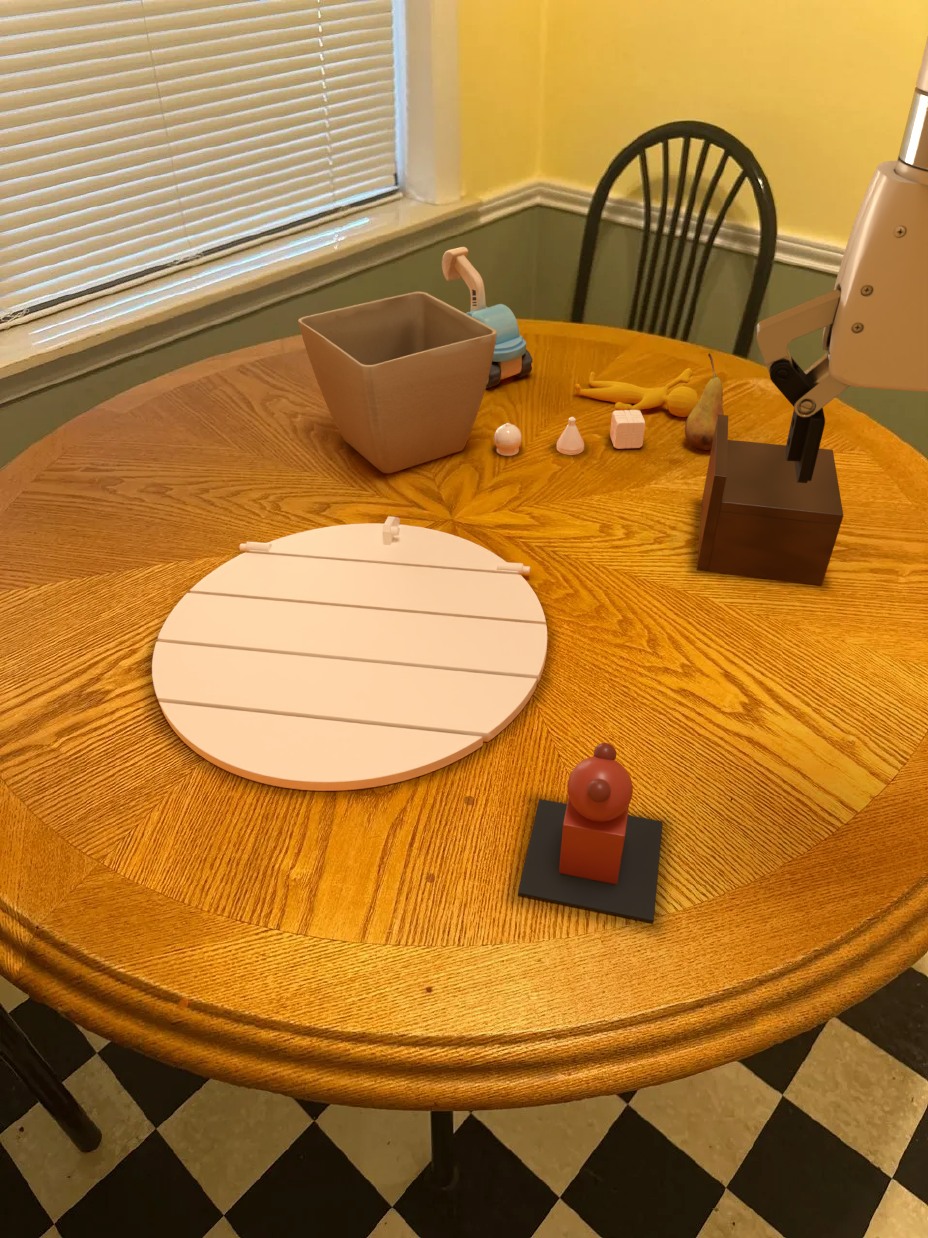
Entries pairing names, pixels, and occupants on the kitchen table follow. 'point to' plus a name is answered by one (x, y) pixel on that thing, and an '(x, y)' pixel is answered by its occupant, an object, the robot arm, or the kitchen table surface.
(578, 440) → the decorative object set
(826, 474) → the wooden box with backboard
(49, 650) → the kitchen table surface
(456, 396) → the flower pot
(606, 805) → the ball-topped red block
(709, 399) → the fruit
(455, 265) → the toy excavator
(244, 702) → the round plank board
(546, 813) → the mat
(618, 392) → the figurine
